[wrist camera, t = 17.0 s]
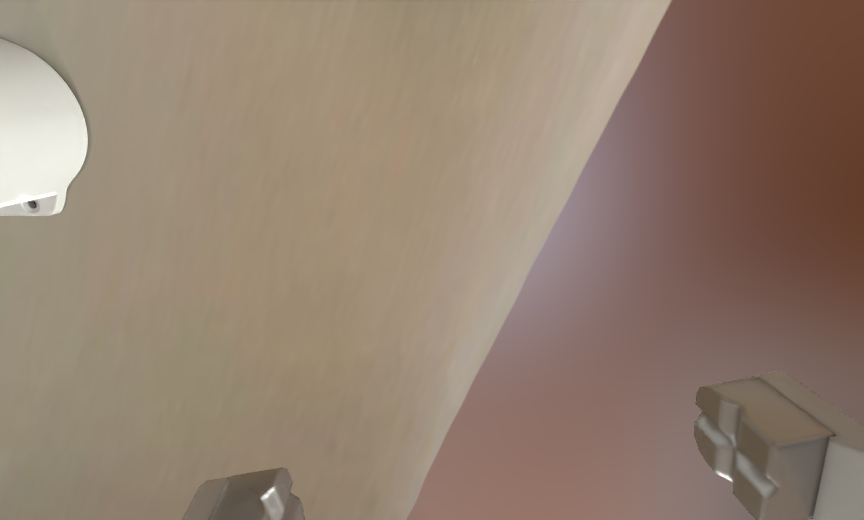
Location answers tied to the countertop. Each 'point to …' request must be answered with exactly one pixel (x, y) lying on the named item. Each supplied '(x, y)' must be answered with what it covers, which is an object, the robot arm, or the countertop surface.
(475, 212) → the countertop surface
